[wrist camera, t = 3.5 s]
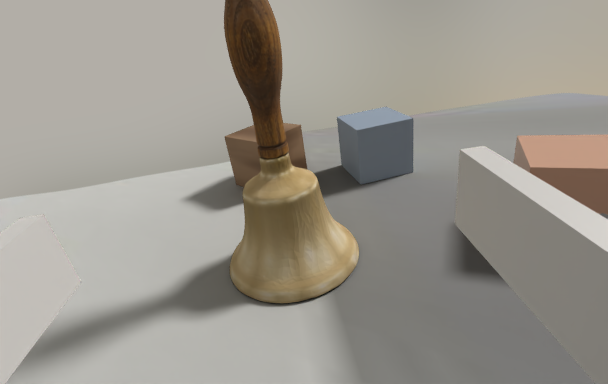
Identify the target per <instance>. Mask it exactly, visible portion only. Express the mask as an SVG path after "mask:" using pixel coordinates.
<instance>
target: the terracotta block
mask: <svg viewBox="0 0 608 384" xmlns="http://www.w3.org/2000/svg"><path fill="white" fill-rule="evenodd" d="M513 163H514V164H516V165H517V166H519V167H521V168H522V169H524V170H526V171H527V172H529V173H531V174H532V175H534V176H536V177H537V178H539V179H541V180H542V181H544V182H546V183H547V184H549V185H551V186H553V187H554V188H556V189H558V190H559V191H561V192H563V193H564V194H566V195H568V196H569V197H571V198H573V199H574V200H576V201H578V202H579V203H581V204H583V205H584V206H586V207H588V208H590V209H591V210H593V211H595V212H596V213H598V214H601V213H604V214H607V215H608V135H538V136H517V142H516V148H515V155H514V162H513Z"/></svg>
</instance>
